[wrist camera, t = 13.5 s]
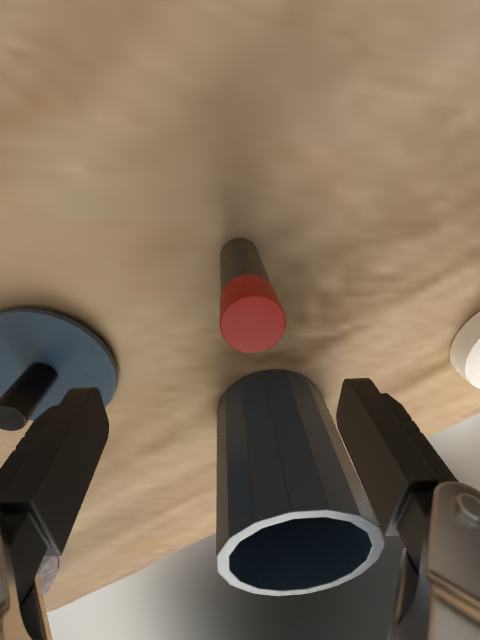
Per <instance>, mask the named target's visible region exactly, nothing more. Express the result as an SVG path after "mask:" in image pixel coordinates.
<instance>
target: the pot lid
mask: <svg viewBox="0 0 480 640" xmlns="http://www.w3.org/2000/svg"><path fill="white" fill-rule="evenodd" d="M117 382H118V373H117V367H116V364H115V361H114V359H113V357H112V355H111V353H110V351H109V350H108V348H107V347H106V346H105V344H104V343H103V342H102V341H101V340H100V339H99V338H98V337H97V336H96V335H95V334H94V333H93V332H91V331H90V330H89V329H87V328H86V327H85V326H83V325H81V324H80V323H78V322H76V321H74V320H72V319H70V318H68V317H66V316H63V315H60V314H57V313H54V312H50V311H46V310H40V309H29V308H20V309H11V310H6V311H2V312H0V429H3V430H8V431H15V430H19V429H21V428H23V427H24V426H25V425H26V423H27V422H28V421H29V420H31V421H34V420H35V419H36V418H37V417H38V416H40V415H41V414H42V413H43V412H45V411H46V410H47V409H48V408H49V407H51V406H54V405H59V404H60V402H61V401H62V399H63V398H64V396H65V395H66V393H67V392H68V390H69V389H71V388H86V387H97V388H98V389H99V391H100V393H101V397H102V400H103V404H104V407H106V406H107V405H108V404H109V402H110V401H111V399H112V398H113V395H114V393H115V390H116V388H117Z"/></svg>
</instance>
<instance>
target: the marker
mask: <svg viewBox="0 0 480 640" xmlns="http://www.w3.org/2000/svg"><path fill="white" fill-rule="evenodd" d="M220 279H221V296H220V330H221V334H222V336H223V338H224V340H225V341H226V342H227V343H228V344H229V345H230V346H231V347H233V348H234V349H236V350H238V351H241V352H246V353H257V352H261V351H265V350H267V349H269V348H271V347H272V346H274V345H275V344H276V343H277V342H278V341H279V340H280V339H281V337H282V335H283V333H284V331H285V327H286V318H285V314H284V311H283V309H282V307H281V304H280V302H279V300H278V297H277V295H276V292H275V290H274V288H273V286H272V285H271V283H270V281H269V278H268V276H267V273H266V271H265V269H264V266H263V264H262V261H261V259H260V257H259V254H258V252H257V249H256V247H255V246H254V245H253V243H251V242H250V241H249V240H246V239H243V238H236V239H232V240H230V241H229V242H227V243H226V244H225V245H224V246H223V248H222V250H221V254H220Z"/></svg>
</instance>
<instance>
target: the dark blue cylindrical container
mask: <svg viewBox="0 0 480 640" xmlns="http://www.w3.org/2000/svg"><path fill="white" fill-rule="evenodd" d="M216 537H217V538H216V547H217V549H216V557H217V570H218V573H219V574H220V575H221V576H222V577H223V578H224V579H225V580H226V581H227V582H228V583H229V584H230V585H232V586H235V587H237V588H240V589H243V590H245V591H248V592H251V593H256V594H266V595H275V596H279V595H280V596H282V595H294V594H306V593H311V592H315V591H319V590H323V589H327V588H331V587H334V586H337V585H339V584H341V583H343V582H346V581H348V580H350V579H352V578H354V577H356V576H358V575H360V574H361V573H363V572H364V571H365V570H366V569H367V568H368V567H370V566H371V565H372V564H373V563H375V562H376V561H377V560H378V558H379V556H380V553H381V551H382V549H383V547H384V545H385V542H384V539H383V536H382V533H381V530H380V528H379V525H378V523H377V520H376V518H375V516H374V514H373V511H372V509H371V507H370V504H369V502H368V500H367V497H366V495H365V493H364V491H363V488H362V487H361V484H360V481H359V479H358V477H357V475H356V472H355V470H354V468H353V465H352V463H351V461H350V458H349V456H348V454H347V452H346V449H345V447H344V445H343V442H342V440H341V438H340V435H339V433H338V431H337V429H336V426H335V424H334V422H333V419H332V417H331V415H330V413H329V410H328V408H327V406H326V403H325V401H324V399H323V396H322V394H321V392H320V390H319V389H318V388H317V387H316V385H315V384H314V383H313V382H312V381H310V380H309V379H308V378H306V377H304V376H302V375H300V374H297V373H295V372H291V371H285V370H266V371H261V372H257V373H254V374H251V375H248V376H246V377H244V378H242V379H240V380H239V381H237V382H236V383H234V384H233V385H232V386H231V387H230V388H229V389H228V390H227V391H226V392H225V394H224V395H223V397H222V398H221V400H220V403H219V406H218V410H217V528H216Z"/></svg>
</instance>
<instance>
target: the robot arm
mask: <svg viewBox="0 0 480 640" xmlns="http://www.w3.org/2000/svg"><path fill="white" fill-rule="evenodd" d="M336 420H337V426H338V430H339V432H340V435H341V437H342V439H343V442H344V444H345V446H346V448H347V451H348V453H349V455H350V458H351V460H352V462H353V465H354V467H355V469H356V471H357V474H358V476H359V478H360V480H361V483H362V485H363V487H364V490H365V492H366V494H367V497H368V499H369V501H370V504H371V506H372V508H373V511H374V513H375V515H376V517H377V520H378V522H379V524H380V527H381V529H382V531H383V533H384V536H391V535H400V537H401V539H402V541H403V543H404V545H405V547H404V550H403V553H402V559H401V565H400V571H399V577H398V583H397V589H396V596H395V601H394V607H393V613H392V621H391V626H390V630H389V634H388V638H387V640H480V491H478V490H476V489H475V488H473V487H471V486H469V485H466V484H464V483H460V482H458V480H457V479H456V478H455V477H454V475H453V474H452V473H451V471H450V470H449V469H448V467H447V466H446V464H445V463H444V462H443V460H442V459H441V458H440V456H439V455H438V454H437V452H436V451H435V450H434V448H433V447H432V445H431V444H430V443H429V441H428V440H427V439H426V437H425V436H424V435H423V433H421V432H420V429H419V428H418V426H417V425H416V424H415V422H414V421H412V420H411V417H410V415H409V414H408V413H407V411H406V410H405V409H404V407H403V406H402V405H401V404H400V403H399V402H397V401H396V400H395V399H394V398H392V397H391V396H390V395H388V394H387V393H382V394H381V393H380V392H379V390H378V389H377V387H376V386H375V385H374V383H373V382H372V380H371V379H369V378H356V379H345V380H344V382H343V385H342V390H341V394H340V399H339V403H338V408H337V413H336ZM108 434H109V421H108V418H107V414H106V411H105V407H104V404H103V400H102V397H101V393H100V391H99V389H98V388H97V387H86V388H71V389H69V390H68V392H67V393H66V395H65V396H64V398H63V399H62V401H61V402H60V404H59V405H54V406H51V407H49V408H48V409H47V410H46V411H45V412H43V413H42V414H41V415H40V416H38V417H37V418H36V419H35V420H34V422H33V423H32V425H31V426H30V428H29V429H28V430H27V432H26V433H25V437H23V438H22V439H21V440H20V442H19V443H18V445H17V446H16V450H15V451H13V452H12V453H11V455H10V456H9V457H8V459H7V460H6V462H5V463H4V465H3V466H2V467H1V469H0V640H52V636H51V631H50V627H49V622H48V617H47V613H46V608H45V604H44V599H43V594H42V590H41V585H40V581H39V577H38V574H37V572H38V570H39V567H40V565H41V563H42V561H43V558H44V557H47V556H61V555H62V553H63V550H64V547H65V545H66V542H67V540H68V537H69V535H70V532H71V530H72V527H73V525H74V522H75V520H76V517H77V515H78V512H79V510H80V507H81V505H82V502H83V500H84V497H85V495H86V492H87V490H88V487H89V485H90V482H91V480H92V477H93V475H94V472H95V469H96V467H97V464H98V462H99V459H100V457H101V454H102V452H103V449H104V447H105V444H106V442H107V439H108Z"/></svg>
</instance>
